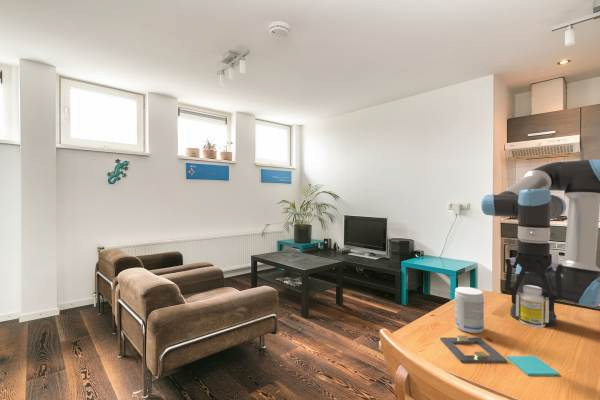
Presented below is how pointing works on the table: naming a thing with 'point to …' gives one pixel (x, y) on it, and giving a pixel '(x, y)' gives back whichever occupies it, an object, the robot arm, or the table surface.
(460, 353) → the socket plate
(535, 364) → the coaster
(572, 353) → the table surface
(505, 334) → the table surface
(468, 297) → the supplement tub
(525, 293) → the pill bottle
